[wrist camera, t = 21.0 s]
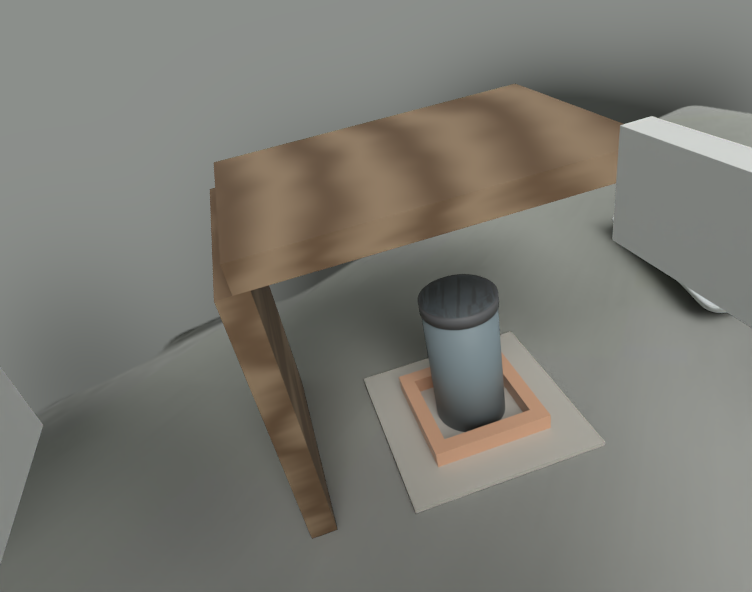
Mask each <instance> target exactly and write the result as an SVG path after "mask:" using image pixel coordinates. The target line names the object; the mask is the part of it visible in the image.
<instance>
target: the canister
mask: <svg viewBox="0 0 752 592" xmlns="http://www.w3.org/2000/svg"><path fill="white" fill-rule="evenodd" d="M418 306H419V312H420V315H421V317H422V322H423V328H424V334H425V340H426V346H427V352H428V358H429V364H430V370H431V376H432V382H433V387H434V393H435V399H436V405H437V411H438V415H439V417H440V419H441V420H442V422H443V423H444V424H446V425H447V426H448V427H450V428H452V429H454V430H457V431H461V432H467V431H470V430H473V429H476V428H479V427H482V426H485V425H488V424H491V423H493V422H496V421H499V420H501V418H502V417H503V415H504V413H505V395H504V381H503V368H502V355H501V342H500V328H499V315H498V307H499V297H498V290H497V287H496V286H495V284H493V283H492V282H491V281H490V280H488V279H486V278H483V277H480V276H476V275H469V274H458V275H451V276H446V277H443V278H440V279H437V280H435V281H433V282H431V283H429V284H428V285H427V286H425V287H424V288H423V289H422V290H421V292H420V293H419V296H418Z"/></svg>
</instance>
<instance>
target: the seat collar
mask: <svg viewBox="0 0 752 592" xmlns="http://www.w3.org/2000/svg"><path fill="white" fill-rule="evenodd" d="M500 342H501V355H502V368H503V381H504V395H505V413H504V415H503V417H502V418H501V420H499V421H496V422H493V423H491V424H488V425H485V426H482V427H479V428H476V429H473V430H470V431H467V432H461V431H457V430H454V429H452V428H450V427H448V426H447V425H446V424H444V423H443V422H442V420H441V419H440V417H439V415H438V411H437V405H436V399H435V393H434V387H433V382H432V376H431V370H430V364H429V358H427V359H423V360H420V361H417V362H414V363H411V364H408V365H405V366H402V367H399V368H396V369H393V370H389V371H386V372H383V373H380V374H377V375H374V376H371V377H368V378H365V379H364V382H365V385H366V388H367V390H368V393H369V395H370V398H371V400H372V403H373V405H374V408H375V410H376V413H377V416H378V418H379V421H380V423H381V426H382V428H383V431H384V433H385V436H386V439H387V441H388V444H389V446H390V449H391V451H392V454H393V456H394V459H395V461H396V464H397V467H398V469H399V472H400V474H401V477H402V479H403V482H404V484H405V487H406V490H407V492H408V495H409V497H410V500H411V502H412V505H413V507H414V510H415V512H416V513H419V512H422V511H424V510H427V509H430V508H433V507H435V506H438V505H441V504H444V503H446V502H449V501H452V500H455V499H458V498H460V497H463V496H466V495H469V494H471V493H474V492H477V491H480V490H482V489H485V488H488V487H491V486H493V485H496V484H499V483H502V482H505V481H507V480H510V479H513V478H516V477H518V476H521V475H524V474H527V473H529V472H532V471H535V470H538V469H541V468H543V467H546V466H549V465H552V464H554V463H557V462H560V461H563V460H565V459H568V458H571V457H574V456H577V455H579V454H582V453H585V452H588V451H590V450H593V449H596V448H599V447H601V446H604V445H605V441H604V440H603V439H602V438H601V436H600V435H599V434H598V433H597V432H596V431H595V429H594V428H593V427H592V426H591V425H590V424H589V422H588V421H587V420H586V419H585V418H584V416H583V415H582V414H581V413H580V412H579V411H578V409H577V408H576V407H575V406H574V405H573V404H572V402H571V401H570V400H569V399H568V398H567V396H566V395H565V394H564V393H563V392H562V391H561V389H560V388H559V387H558V386H557V385H556V384H555V382H554V381H553V380H552V379H551V378H550V376H549V375H548V374H547V373H546V372H545V371H544V369H543V368H542V367H541V366H540V365H539V364H538V362H537V361H536V360H535V359H534V358H533V356H532V355H531V354H530V353H529V352H528V351H527V349H526V348H525V347H524V346H523V345H522V344H521V342H520V341H519V340H518V339H517V338H516V336H515V335H514V334H513V333H512V332H511V331H510V332H507V333H504V334H501V335H500Z"/></svg>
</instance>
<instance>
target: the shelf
mask: <svg viewBox="0 0 752 592" xmlns="http://www.w3.org/2000/svg"><path fill="white" fill-rule="evenodd" d="M620 125H623V124H622V123H620V122H617V121H614V120H612V119H609V118H606V117H603V116H601V115H598V114H595V113H592V112H590V111H587V110H585V109H582V108H579V107H577V106H574V105H571V104H568V103H566V102H563V101H560V100H558V99H555V98H552V97H550V96H547V95H544V94H542V93H539V92H536V91H534V90H531V89H528V88H525V87H523V86H520V85H517V84H512V85H508V86H505V87H501V88H497V89H493V90H489V91H485V92H482V93H478V94H474V95H470V96H466V97H462V98H459V99H455V100H451V101H448V102H443V103H440V104H436V105H432V106H428V107H424V108H421V109H417V110H413V111H409V112H405V113H401V114H397V115H394V116H390V117H386V118H382V119H378V120H374V121H371V122H367V123H363V124H360V125H355V126H352V127H348V128H344V129H340V130H337V131H333V132H329V133H325V134H321V135H317V136H313V137H309V138H306V139H302V140H298V141H294V142H290V143H286V144H283V145H279V146H275V147H271V148H267V149H263V150H260V151H256V152H252V153H248V154H244V155H241V156H237V157H233V158H229V159H225V160H221V161H218V162H214V174H215V188H213V189H210V206H211V233H212V259H213V287H214V303H215V305H216V307H217V310H218V312H219V315H220V317H221V319H222V322H223V324H224V327H225V329H226V332H227V334H228V336H229V339H230V341H231V344H232V346H233V348H234V351H235V353H236V356H237V358H238V361H239V363H240V365H241V368H242V370H243V373H244V375H245V378H246V380H247V382H248V385H249V387H250V390H251V392H252V394H253V397H254V399H255V402H256V404H257V407H258V409H259V411H260V414H261V416H262V419H263V421H264V423H265V426H266V428H267V431H268V433H269V436H270V438H271V440H272V443H273V445H274V448H275V450H276V453H277V455H278V457H279V460H280V462H281V465H282V467H283V469H284V472H285V474H286V477H287V479H288V482H289V484H290V486H291V489H292V491H293V494H294V496H295V498H296V501H297V503H298V506H299V508H300V511H301V513H302V515H303V518H304V520H305V523H306V525H307V528H308V530H309V532H310V535H311V537H312V538H315V537H318V536H321V535H324V534H326V533H329V532H332V531H335V530H337V526H336V521H335V517H334V513H333V509H332V505H331V501H330V497H329V492H328V488H327V484H326V480H325V476H324V472H323V468H322V463H321V459H320V455H319V451H318V447H317V443H316V439H315V434H314V430H313V426H312V422H311V418H310V414H309V410H308V405H307V401H306V397H305V393H304V389H303V385H302V381H301V378H300V375H299V372H298V369H297V366H296V363H295V360H294V357H293V354H292V351H291V349H290V346H289V343H288V340H287V337H286V334H285V331H284V328H283V325H282V322H281V319H280V316H279V313H278V310H277V307H276V304H275V301H274V299H273V296H272V293H271V290H270V287H269V285H271V284H275V283H278V282H281V281H285V280H288V279H292V278H295V277H299V276H302V275H305V274H308V273H312V272H315V271H319V270H322V269H326V268H329V267H333V266H336V265H339V264H343V263H346V262H350V261H353V260H356V259H360V258H363V257H367V256H370V255H373V254H377V253H380V252H384V251H387V250H390V249H394V248H397V247H401V246H404V245H407V244H411V243H414V242H418V241H421V240H424V239H428V238H431V237H435V236H438V235H441V234H445V233H448V232H452V231H455V230H458V229H462V228H465V227H469V226H472V225H475V224H479V223H482V222H486V221H489V220H492V219H496V218H499V217H503V216H506V215H509V214H513V213H516V212H520V211H523V210H526V209H530V208H533V207H537V206H540V205H543V204H547V203H550V202H554V201H557V200H560V199H564V198H567V197H571V196H574V195H577V194H581V193H584V192H588V191H591V190H594V189H598V188H601V187H605V186H608V185H611V184H615V183H616V178H617V163H618V149H619V134H620Z"/></svg>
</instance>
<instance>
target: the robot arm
mask: <svg viewBox="0 0 752 592" xmlns="http://www.w3.org/2000/svg"><path fill="white" fill-rule="evenodd" d="M612 240H613V241H615V242H616V243H618V244H620V245H621V246H623V247H624V248H626V249H628V250H629V251H631V252H632V253H634V254H636V255H637V256H639V257H640V258H642V259H643V260H645V261H647V262H648V263H650V264H651V265H653V266H655V267H656V268H658V269H659V270H661V271H662V272H664V273H666V274H667V275H669V276H670V277H672V278H674V279H675V280H677V281H678V282H680V283H681V284H683V285H685V286H686V287H688V288H689V289H691V290H693V291H694V292H696V293H697V294H699V295H700V296H702V297H704V298H705V299H707V300H708V301H710V302H712V303H713V304H715V305H716V306H718V307H719V308H721V309H723V310H724V311H726V312H727V313H729V314H731V315H732V316H734V317H735V318H737V319H739V320H740V321H742V322H743V323H745V324H746V325H748V326H750V327H751V328H752V148H751V147H748V146H745V145H741V144H738V143H735V142H732V141H729V140H726V139H722V138H719V137H716V136H713V135H710V134H706V133H703V132H700V131H697V130H694V129H691V128H687V127H684V126H681V125H678V124H675V123H671V122H668V121H665V120H662V119H659V118H655V117H652V116H651V117H647V118H644V119H641V120H637V121H634V122H630V123H627V124H623V125H620V134H619V149H618V163H617V178H616V192H615V207H614V221H613V236H612ZM42 428H43V424H42V423H41V421H40V420H39V419H38V417H37V416H36V414H35V413H34V412H33V410H32V409H31V408H30V407H29V405H28V404H27V402H26V401H25V399H24V398H23V397H22V395H21V394H20V393H19V391H18V390H17V389H16V387H15V386H14V384H13V383H12V382H11V381H10V379H9V378H8V376H7V375H6V373H5V372H4V371H3V369H2V368H1V367H0V564H1V561H2V558H3V554H4V551H5V548H6V545H7V541H8V538H9V535H10V532H11V528H12V525H13V522H14V519H15V515H16V512H17V509H18V506H19V502H20V499H21V496H22V493H23V489H24V486H25V483H26V480H27V476H28V473H29V470H30V467H31V463H32V460H33V457H34V454H35V450H36V447H37V444H38V441H39V437H40V434H41V431H42Z"/></svg>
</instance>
